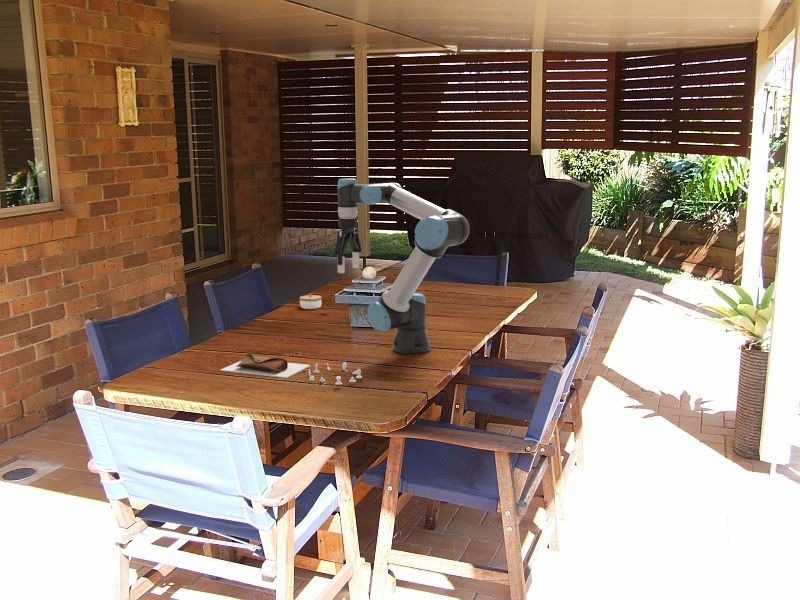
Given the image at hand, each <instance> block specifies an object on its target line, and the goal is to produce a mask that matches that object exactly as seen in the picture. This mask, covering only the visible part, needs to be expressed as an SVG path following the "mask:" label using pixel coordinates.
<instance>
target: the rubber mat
mask: <svg viewBox="0 0 800 600" xmlns="http://www.w3.org/2000/svg"><path fill="white" fill-rule="evenodd" d="M241 361H242V360H239V361H237V362H235V363H232V364H231V365H228V366H225V367H223V368H221V369H220V371H221V372H225V373H226V372H227V373H238V374H244V375H253V376H264V377H273V378H280V379H288V378H290V377H292V376H295V375H296V374H298V373H300V372H302V371H304V370H306V369H309V368H310V367H311V366H312V364H305V363H304V364H303V363H295V362H287V363H288V367H287V369H286V370H283V371H265V370H258V369H251V368H245V367H236V366H237V365H238V364H239V363H240V362H241Z"/></svg>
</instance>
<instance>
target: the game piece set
mask: <svg viewBox="0 0 800 600" xmlns="http://www.w3.org/2000/svg"><path fill="white" fill-rule="evenodd" d="M326 364H327V367H326V368H327V371H331V368H330V366H329V363H328V362H327V363H326ZM314 366H315V369H313V370H312V372H313V373H315V374H316V373H320V370H319V369H318V366H319V365H318V363H317V362H316V363H315V365H314ZM347 366H348V363H347V362H346V361H344V362H342V368H341V369H343V371H344V372H348V369H347ZM307 371H308V376H309V377H308V378H309V379H308V380H309V381H314V380H315V376H314V375H312V372H311V369H310V368H307ZM361 373H362V370H361V369H360V368H357V369H356V370H354V371H353V372H352V376H351V377H350V380H349V381H348V382H349V383H355V382H357V380H356V379H362V378H363V376H362V375H361ZM353 375H356V376H355V378H356V379H355V378H354V376H353ZM335 379H336V380H337V381H336V382H335V385H342V384H343V383H342V382H341V379H342V376H340V375H338V376H336V377H335ZM319 382H321V385H326V383H327V382H326V379H325V378H323V376H321V377H320V379H319Z"/></svg>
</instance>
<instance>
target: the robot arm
mask: <svg viewBox="0 0 800 600" xmlns="http://www.w3.org/2000/svg"><path fill="white" fill-rule="evenodd" d="M379 203H381V204H382V203H387V204H389V205H391V206H393V207H395V208H397V209H399V210H401V211H402V212H405V213H406V214H408V215H411V216H412V217H414V218H416V219H419V220H420V221H419V222H418V223H417V224H416V227H415V229H414V234H415V235H414V245H415V247H414V248H413V251H412V252H411V253H410V255H409V257H408V258H407V260H406V261H405V263H404V265H403V266H402V268H401V271H400V272H399V274H398V275H397V277H396V279H395V280H394V282H393V284H392V285H391V287H390V289H389V290H388V289H387V290H384V291H383V293H382V294H381V296H380V297H379V299H378V301H373V302H371V303H370V304H369V305H368V308H367V317H368V321H369V323H370V326H372V327H373V328H374V329H375V330H377V331H379V332H384V331H385V332H387V331H389V330H393V329H396V331H395V335H394V339H393V342H392V351H393V352H397V353H400V354H421V353H426V352H428V351H431V342H430V339H429V337H428V334H427V333H428V332H427V328H426V323H427V320H426V319H427V315H426V314H427V302H426V296H425V295H424V294H422V293H417V292H416V291H417V289H418V287H419V286H420V285H421V284H422V283H421V282H422V281H423V279H424V277H426V275H427V273H428V272H429V269H431V267H432V265H433V263H434V262H435V260H436V259H440V258H442V257H443V255H444V253H445V252H446V250H447V249H448V248H449V247H453V246H459V245H461V244H463V243H464V242H465V241H466V240H467V239H468V237H469V235H470V224H469V221H468V219H467V218H466V217H465V216H464V215H463V214H461V213H459V212H457V211H455V210H452V209H449V208H448V209H445V208H442V207H440V206H438V205H436V204H434V203H432V202H430V201H428V200H425V199H423V198H421V197H420V196H417V195H416V194H413V193H411V192H410V191H407V190H405V189H404V188H403V187H402V186H401V184H399V183H397V182H393V181H392V182H382V183H381V182H380V183H368V184H366V183H363V184H362V183H357V179H356V178H339V179H338V181H337V206H338V207H337V212H338V213H337V214H338V217H339V218H338V223H337V224H338V228H340V229H341V231H340V230H339V231H337V239H336V245H335V248H334V257H337V273H338V274H345V272H346V271H345V270H346V269H345V266H346V262H345V259H346V258H345V256H344V254H345V251H346V249H347V245H348V244H349V245H350V247H351V249H352V254H351V255H352V256H351V258H352V261H351V262H352V267H351V268H352V269H360V253H362V243H361V240H360V236H359V228H358V204H364V205H376V204H379Z"/></svg>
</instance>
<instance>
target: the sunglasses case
mask: <svg viewBox="0 0 800 600" xmlns="http://www.w3.org/2000/svg"><path fill="white" fill-rule="evenodd" d="M240 361H241V362H240V363H239V364H238V365H237V366H236V367H245V368H251V369H258V370H265V371H283V370H286V369H287V367H288V363H289V362H287V360H286V359H284V358H281V357H280V358H279V357H269V356H261V355H260V356H259V355H253V354H250V353H247V354H246V356H245V357H243V359H242V360H240Z"/></svg>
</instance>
